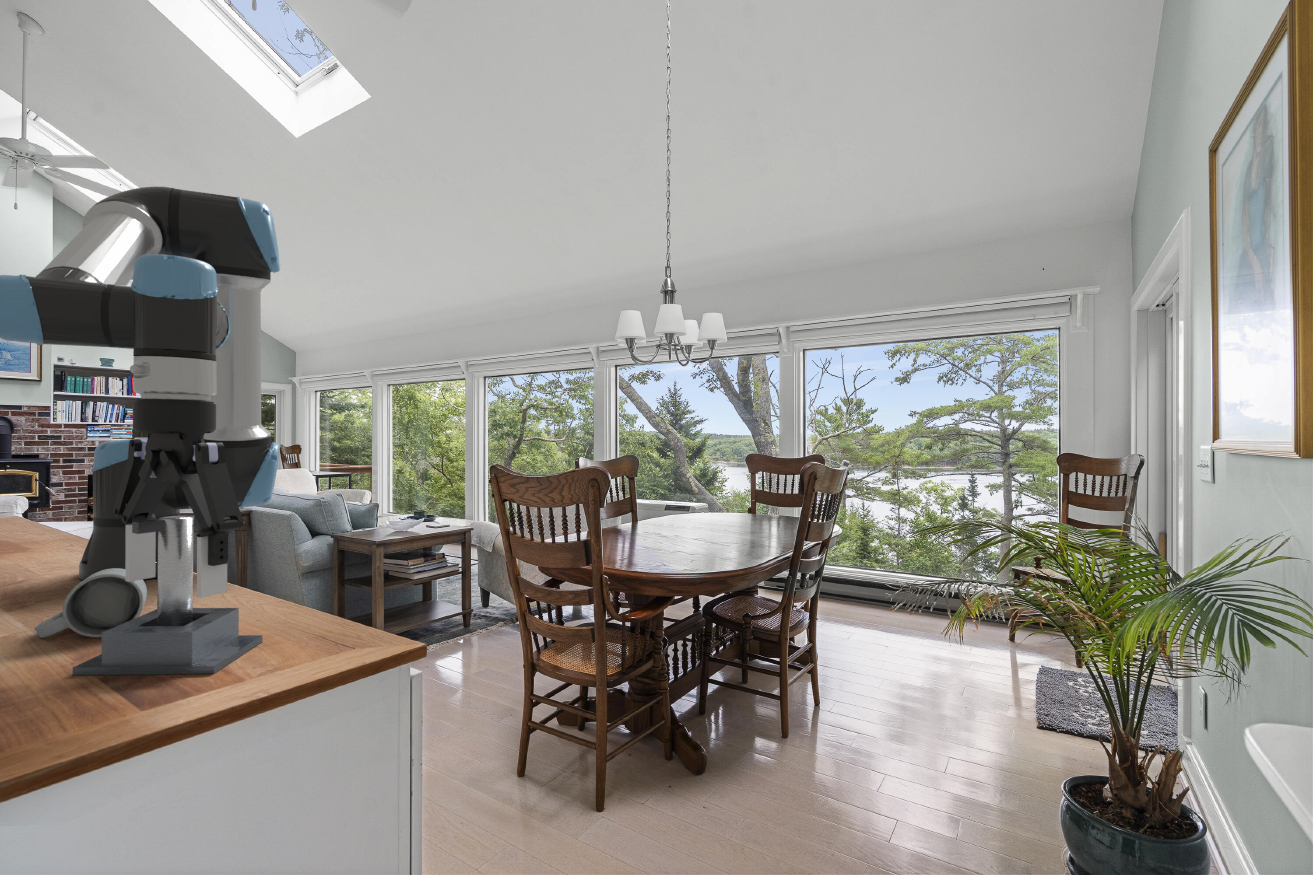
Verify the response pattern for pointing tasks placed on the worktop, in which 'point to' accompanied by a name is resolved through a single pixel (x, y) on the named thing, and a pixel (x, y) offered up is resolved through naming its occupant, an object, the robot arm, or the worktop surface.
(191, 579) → the t key
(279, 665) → the worktop surface
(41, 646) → the worktop surface
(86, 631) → the ceramic mug
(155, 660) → the chuck block
